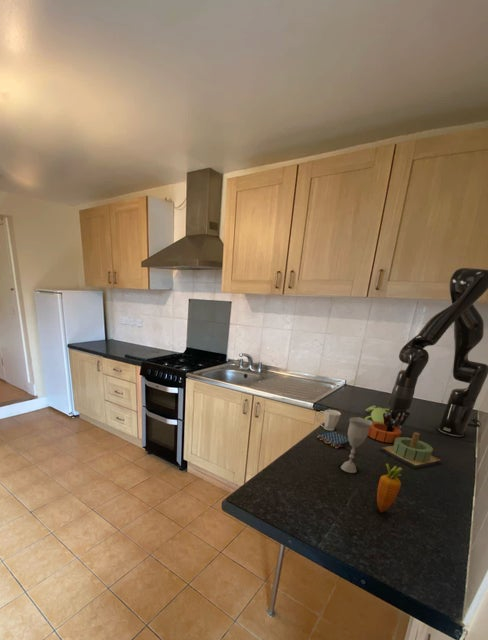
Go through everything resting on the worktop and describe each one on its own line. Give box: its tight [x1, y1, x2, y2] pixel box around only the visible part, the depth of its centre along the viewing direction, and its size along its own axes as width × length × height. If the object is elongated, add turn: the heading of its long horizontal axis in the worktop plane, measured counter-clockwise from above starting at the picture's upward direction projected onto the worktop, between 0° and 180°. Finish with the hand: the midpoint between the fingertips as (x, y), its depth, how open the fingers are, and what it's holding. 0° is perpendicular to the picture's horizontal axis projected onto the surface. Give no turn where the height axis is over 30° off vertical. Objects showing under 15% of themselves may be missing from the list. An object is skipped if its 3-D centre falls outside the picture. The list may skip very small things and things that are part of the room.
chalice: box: [340, 416, 372, 474], centre depth 112 cm, size 7×7×18 cm
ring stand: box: [381, 431, 441, 466], centre depth 124 cm, size 14×14×10 cm
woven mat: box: [316, 431, 349, 449], centre depth 135 cm, size 10×11×2 cm
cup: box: [315, 408, 342, 432], centre depth 147 cm, size 7×10×8 cm
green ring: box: [392, 436, 434, 462], centre depth 125 cm, size 12×12×4 cm
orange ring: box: [367, 421, 402, 444], centre depth 138 cm, size 12×12×4 cm
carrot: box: [376, 463, 403, 514], centre depth 90 cm, size 5×5×15 cm
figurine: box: [357, 405, 402, 430], centre depth 159 cm, size 18×27×6 cm
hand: (390, 434), depth 140 cm, fingers closed on orange ring, 2 cm apart
